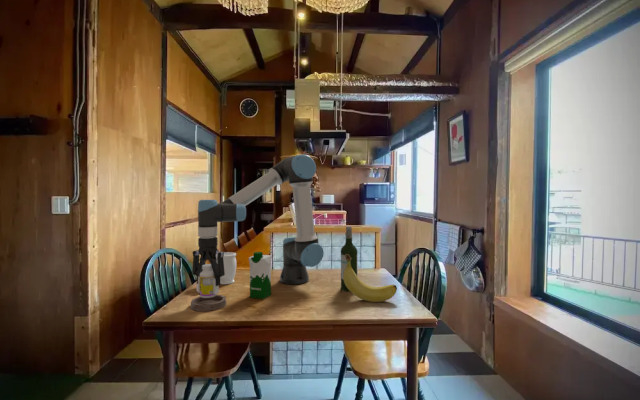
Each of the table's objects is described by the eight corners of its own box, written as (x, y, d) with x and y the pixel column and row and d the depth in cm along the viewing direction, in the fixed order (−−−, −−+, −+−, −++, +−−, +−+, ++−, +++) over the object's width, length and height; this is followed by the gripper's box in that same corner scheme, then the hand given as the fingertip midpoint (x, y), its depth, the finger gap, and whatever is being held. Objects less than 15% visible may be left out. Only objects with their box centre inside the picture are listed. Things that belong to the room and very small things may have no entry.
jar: (239, 280, 173) (239, 252, 172) (232, 285, 162) (232, 255, 162) (220, 279, 174) (220, 251, 173) (212, 285, 163) (211, 255, 163)
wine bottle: (360, 289, 155) (360, 226, 154) (350, 292, 149) (350, 228, 148) (347, 285, 160) (347, 225, 160) (337, 289, 154) (337, 226, 154)
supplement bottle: (202, 293, 136) (202, 263, 136) (218, 293, 137) (218, 263, 137) (197, 299, 130) (197, 267, 129) (214, 298, 130) (214, 266, 130)
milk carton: (247, 298, 142) (246, 253, 142) (257, 292, 151) (257, 249, 151) (264, 300, 140) (264, 254, 139) (274, 294, 148) (273, 250, 148)
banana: (396, 299, 139) (396, 253, 138) (397, 304, 133) (397, 256, 133) (343, 297, 142) (343, 252, 142) (342, 302, 136) (342, 255, 136)
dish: (233, 301, 138) (233, 295, 138) (212, 313, 125) (212, 306, 125) (205, 298, 142) (205, 293, 142) (183, 309, 129) (182, 303, 129)
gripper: (233, 236, 134) (234, 292, 134) (194, 235, 139) (194, 288, 140) (223, 239, 126) (223, 297, 127) (181, 237, 132) (182, 293, 133)
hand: (208, 292), depth 133 cm, fingers closed on supplement bottle, 7 cm apart
